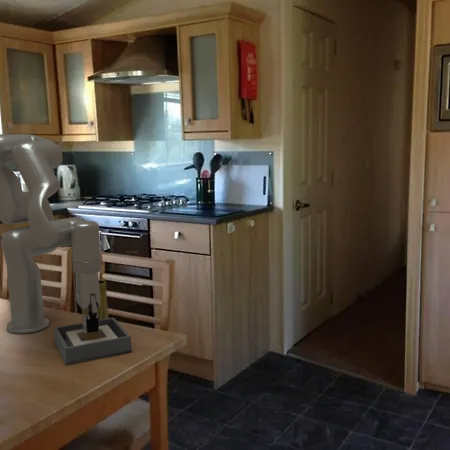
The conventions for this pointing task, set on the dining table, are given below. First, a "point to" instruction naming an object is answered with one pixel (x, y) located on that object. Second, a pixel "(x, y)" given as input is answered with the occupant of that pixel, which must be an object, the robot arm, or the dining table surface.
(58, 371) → the dining table surface
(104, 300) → the vase
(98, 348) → the open box
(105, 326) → the block
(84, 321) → the sprinkles bottle
